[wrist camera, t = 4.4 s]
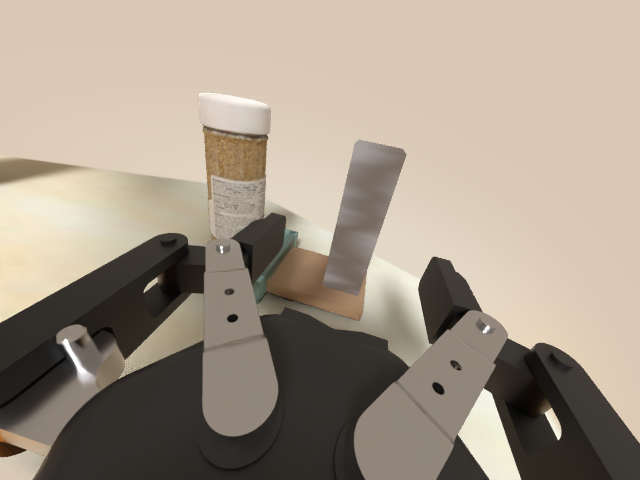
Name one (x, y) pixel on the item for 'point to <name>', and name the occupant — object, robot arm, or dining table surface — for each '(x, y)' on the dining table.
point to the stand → (340, 239)
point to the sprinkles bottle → (234, 160)
